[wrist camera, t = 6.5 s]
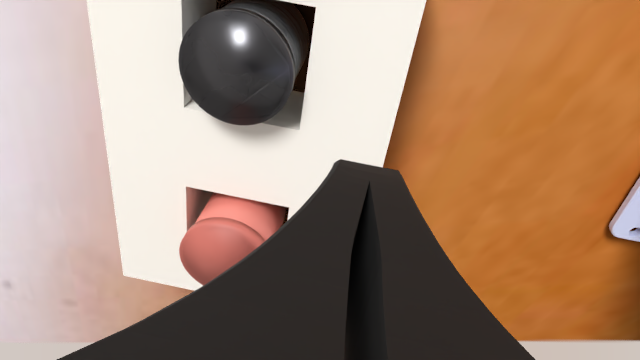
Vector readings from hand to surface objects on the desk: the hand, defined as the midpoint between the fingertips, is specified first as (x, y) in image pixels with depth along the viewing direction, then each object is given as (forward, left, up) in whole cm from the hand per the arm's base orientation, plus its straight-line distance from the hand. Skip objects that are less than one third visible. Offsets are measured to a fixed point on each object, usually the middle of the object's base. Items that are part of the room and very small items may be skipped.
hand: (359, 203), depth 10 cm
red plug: (+4, +8, -9) cm, 13 cm away
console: (+5, +4, -10) cm, 12 cm away
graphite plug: (+5, 0, -10) cm, 11 cm away
